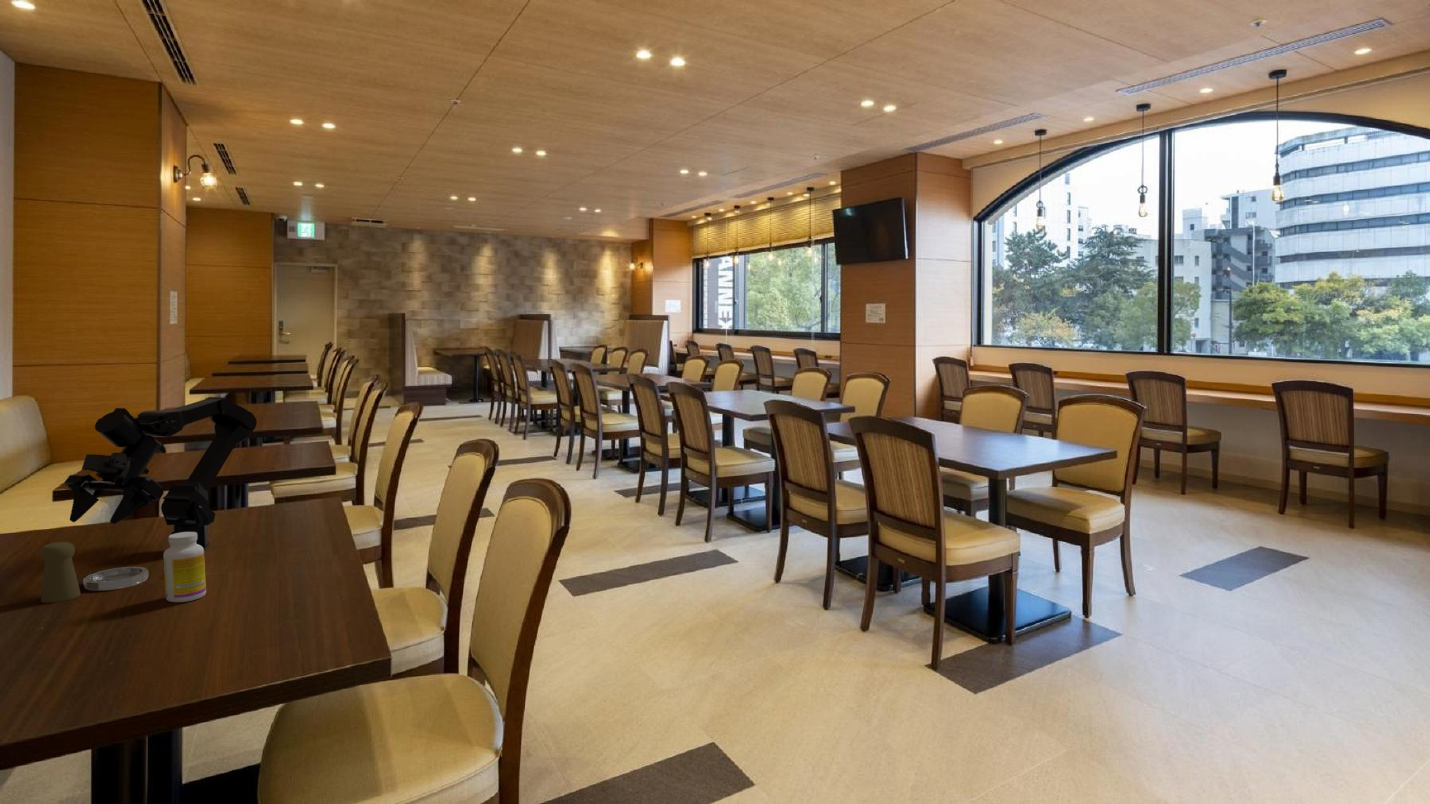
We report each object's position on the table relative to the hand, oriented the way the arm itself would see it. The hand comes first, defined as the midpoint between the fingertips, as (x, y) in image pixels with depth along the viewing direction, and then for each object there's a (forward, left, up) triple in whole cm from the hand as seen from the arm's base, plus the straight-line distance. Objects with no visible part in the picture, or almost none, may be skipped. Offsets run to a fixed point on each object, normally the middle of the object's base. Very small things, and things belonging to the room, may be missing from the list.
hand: (91, 522), depth 158 cm
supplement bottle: (-20, +15, -13) cm, 28 cm away
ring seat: (-4, 0, -13) cm, 14 cm away
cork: (+3, +7, -13) cm, 16 cm away
